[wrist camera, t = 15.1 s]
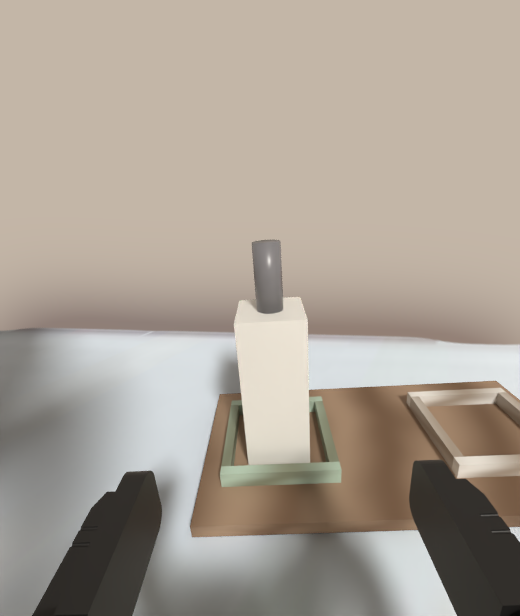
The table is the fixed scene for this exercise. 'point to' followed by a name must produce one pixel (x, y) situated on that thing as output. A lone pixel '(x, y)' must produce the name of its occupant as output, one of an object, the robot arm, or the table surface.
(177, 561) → the table surface
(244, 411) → the cream block with handle
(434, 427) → the walnut port board
